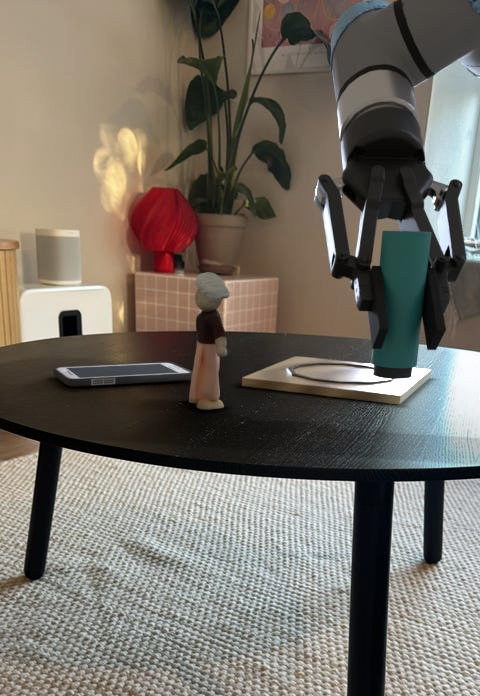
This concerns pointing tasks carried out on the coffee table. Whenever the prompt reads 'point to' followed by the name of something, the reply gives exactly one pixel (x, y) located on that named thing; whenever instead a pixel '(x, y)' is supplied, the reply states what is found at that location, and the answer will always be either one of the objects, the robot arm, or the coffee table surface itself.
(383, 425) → the coffee table surface
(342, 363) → the board
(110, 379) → the cell phone
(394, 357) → the cylinder
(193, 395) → the grandmother figurine
